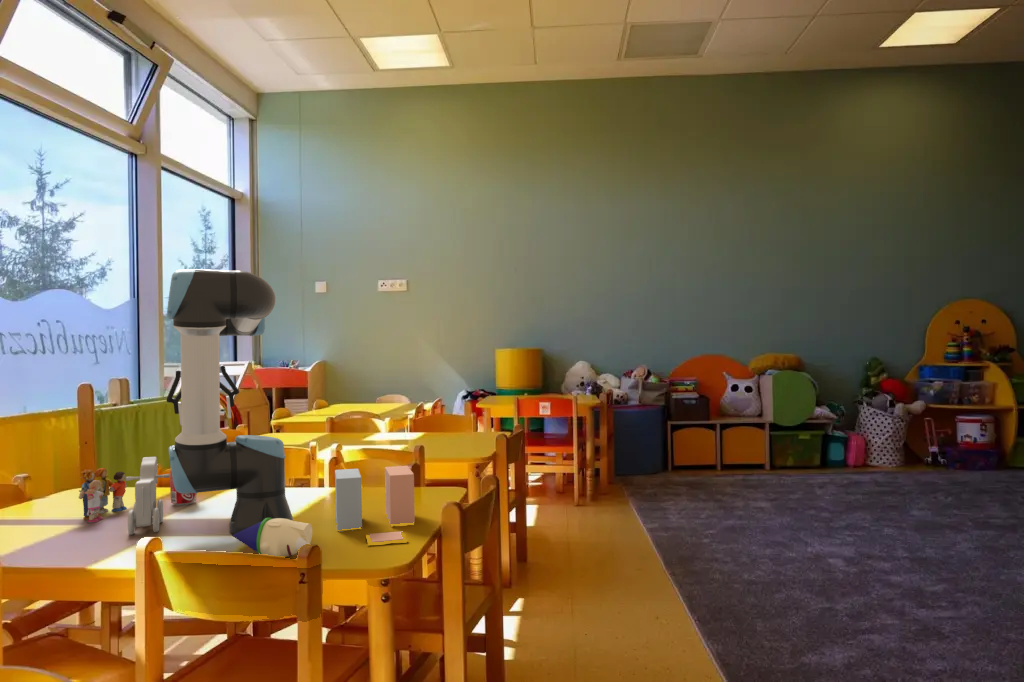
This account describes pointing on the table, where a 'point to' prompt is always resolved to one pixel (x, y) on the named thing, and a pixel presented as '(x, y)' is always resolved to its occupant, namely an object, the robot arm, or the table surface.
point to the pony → (146, 497)
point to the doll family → (101, 493)
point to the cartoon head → (276, 536)
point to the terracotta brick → (399, 494)
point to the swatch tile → (386, 536)
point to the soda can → (180, 495)
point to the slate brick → (348, 499)
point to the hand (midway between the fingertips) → (206, 420)
